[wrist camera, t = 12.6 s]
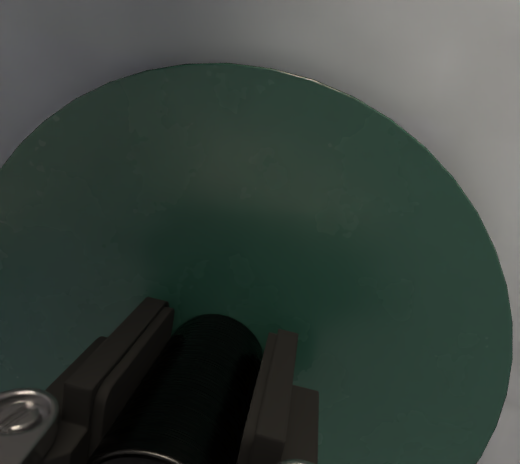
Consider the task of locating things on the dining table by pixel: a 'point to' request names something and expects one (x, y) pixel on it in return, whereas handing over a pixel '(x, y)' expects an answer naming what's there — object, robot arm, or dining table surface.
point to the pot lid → (255, 266)
